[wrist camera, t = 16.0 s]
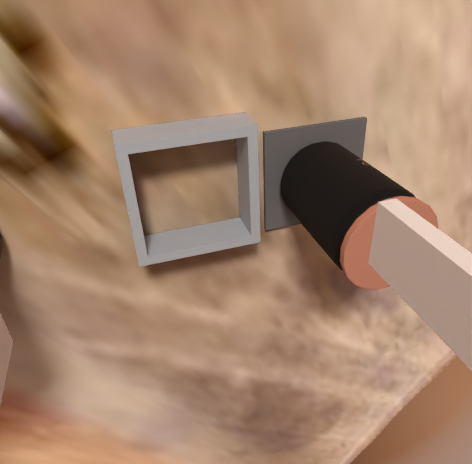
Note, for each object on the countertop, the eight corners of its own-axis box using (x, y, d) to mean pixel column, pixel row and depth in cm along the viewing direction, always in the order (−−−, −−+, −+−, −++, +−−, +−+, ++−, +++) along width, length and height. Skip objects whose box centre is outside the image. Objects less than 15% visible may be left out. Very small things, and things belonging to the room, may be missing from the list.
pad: (264, 228, 60) (265, 230, 59) (263, 131, 52) (264, 133, 52) (353, 210, 63) (355, 212, 62) (364, 116, 55) (366, 118, 55)
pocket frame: (135, 245, 55) (139, 266, 51) (111, 129, 47) (113, 144, 43) (248, 223, 59) (260, 242, 54) (244, 112, 50) (257, 124, 46)
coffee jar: (352, 196, 61) (437, 268, 46) (283, 222, 59) (347, 304, 45) (346, 127, 55) (441, 183, 40) (270, 153, 53) (338, 222, 39)
